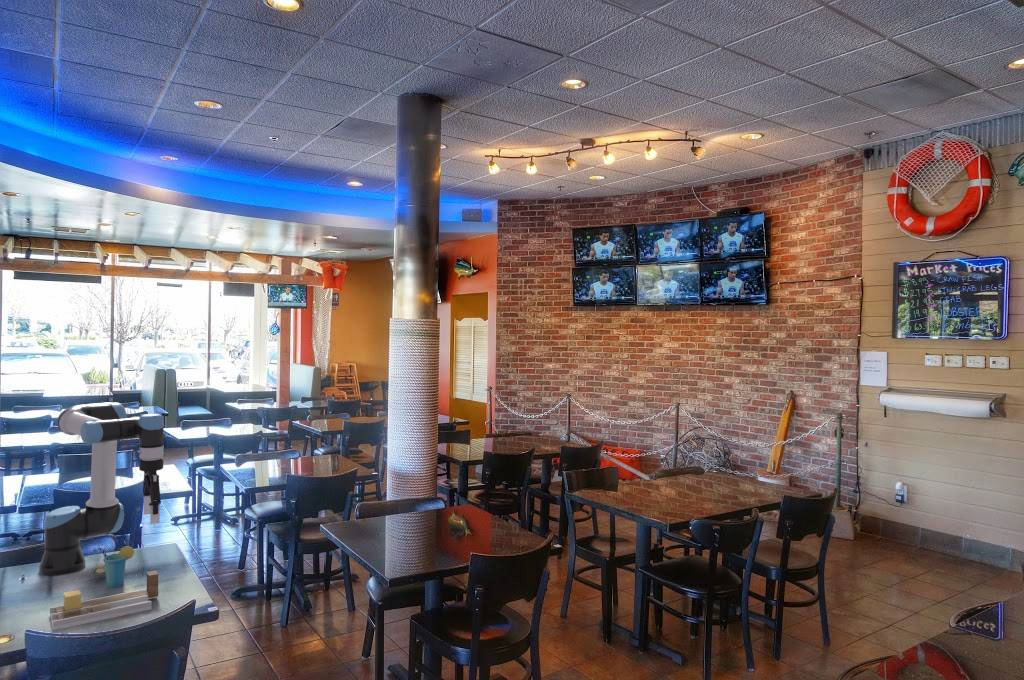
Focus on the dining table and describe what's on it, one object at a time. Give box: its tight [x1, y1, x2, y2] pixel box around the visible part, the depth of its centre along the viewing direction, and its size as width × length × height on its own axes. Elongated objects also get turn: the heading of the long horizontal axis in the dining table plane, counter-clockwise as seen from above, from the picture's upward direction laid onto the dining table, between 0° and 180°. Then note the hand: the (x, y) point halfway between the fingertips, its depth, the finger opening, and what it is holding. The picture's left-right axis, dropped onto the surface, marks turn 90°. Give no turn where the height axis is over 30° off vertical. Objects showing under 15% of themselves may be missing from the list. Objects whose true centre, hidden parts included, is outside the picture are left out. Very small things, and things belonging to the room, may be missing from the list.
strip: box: [56, 570, 159, 613], centre depth 238 cm, size 4×30×8 cm, turn 127°
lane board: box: [49, 588, 152, 631], centre depth 234 cm, size 13×28×3 cm, turn 127°
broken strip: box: [57, 604, 110, 620], centre depth 229 cm, size 4×14×2 cm, turn 127°
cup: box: [90, 545, 135, 589], centre depth 257 cm, size 14×8×15 cm, turn 129°
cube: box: [63, 589, 82, 611], centre depth 232 cm, size 4×4×4 cm
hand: (151, 518), depth 245 cm, fingers open, 13 cm apart
